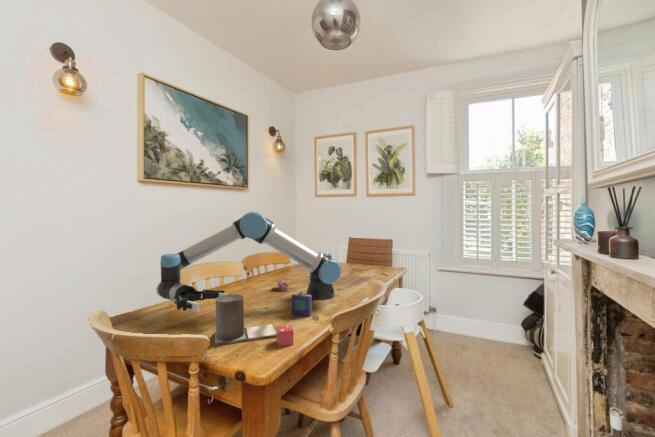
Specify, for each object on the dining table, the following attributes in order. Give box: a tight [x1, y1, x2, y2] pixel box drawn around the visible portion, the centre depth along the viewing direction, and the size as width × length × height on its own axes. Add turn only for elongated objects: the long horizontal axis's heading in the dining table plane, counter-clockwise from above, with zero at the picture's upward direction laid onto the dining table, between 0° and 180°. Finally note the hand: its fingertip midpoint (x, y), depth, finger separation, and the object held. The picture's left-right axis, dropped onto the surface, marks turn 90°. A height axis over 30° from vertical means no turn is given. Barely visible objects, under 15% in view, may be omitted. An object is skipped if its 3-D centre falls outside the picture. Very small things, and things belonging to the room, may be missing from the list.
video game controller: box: [277, 278, 289, 292], centre depth 177 cm, size 10×5×7 cm, turn 6°
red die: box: [275, 324, 294, 348], centre depth 106 cm, size 5×5×5 cm
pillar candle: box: [215, 293, 245, 340], centre depth 110 cm, size 10×10×15 cm
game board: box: [213, 323, 276, 347], centre depth 112 cm, size 22×11×1 cm, turn 111°
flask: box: [291, 290, 313, 317], centre depth 133 cm, size 9×3×11 cm, turn 74°
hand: (214, 303), depth 114 cm, fingers open, 13 cm apart
